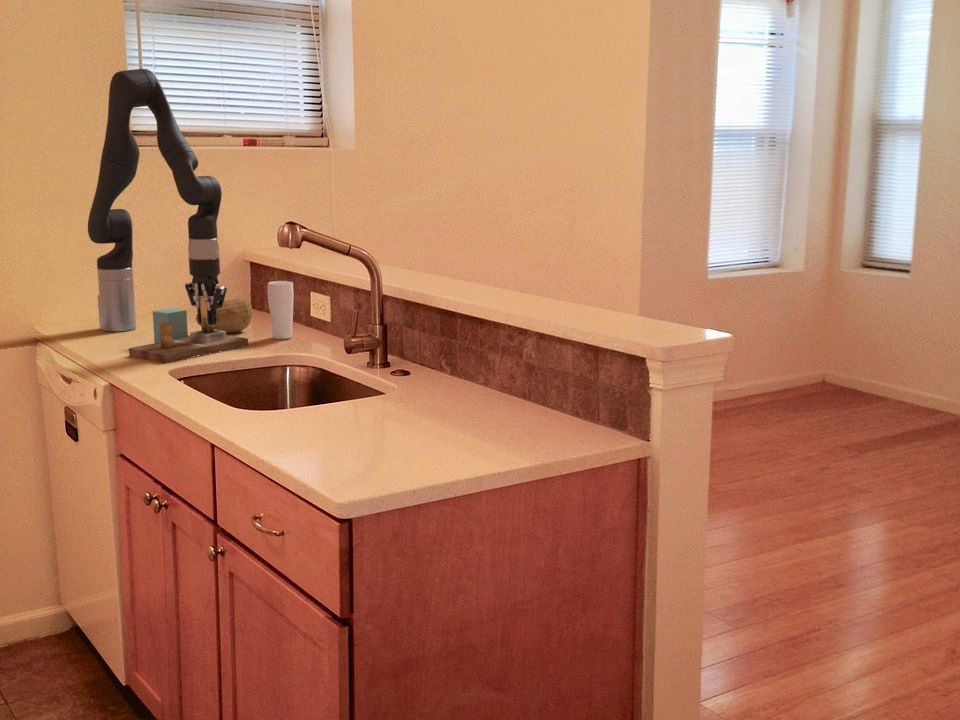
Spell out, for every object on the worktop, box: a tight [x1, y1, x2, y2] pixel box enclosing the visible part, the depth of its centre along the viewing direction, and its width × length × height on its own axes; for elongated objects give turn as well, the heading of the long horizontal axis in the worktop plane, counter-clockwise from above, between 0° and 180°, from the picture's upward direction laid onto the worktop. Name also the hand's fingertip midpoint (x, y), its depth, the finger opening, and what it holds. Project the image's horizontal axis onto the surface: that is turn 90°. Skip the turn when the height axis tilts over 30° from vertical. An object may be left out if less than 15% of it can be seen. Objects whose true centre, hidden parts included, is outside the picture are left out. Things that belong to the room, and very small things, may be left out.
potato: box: [195, 297, 253, 334], centre depth 295 cm, size 9×16×9 cm, turn 117°
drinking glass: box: [267, 280, 295, 340], centre depth 287 cm, size 7×7×15 cm
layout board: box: [128, 323, 249, 364], centre depth 271 cm, size 14×26×8 cm, turn 144°
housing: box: [152, 307, 189, 343], centre depth 280 cm, size 6×6×9 cm
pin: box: [200, 296, 214, 333], centre depth 275 cm, size 3×3×9 cm
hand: (207, 323), depth 275 cm, fingers closed on pin, 3 cm apart
